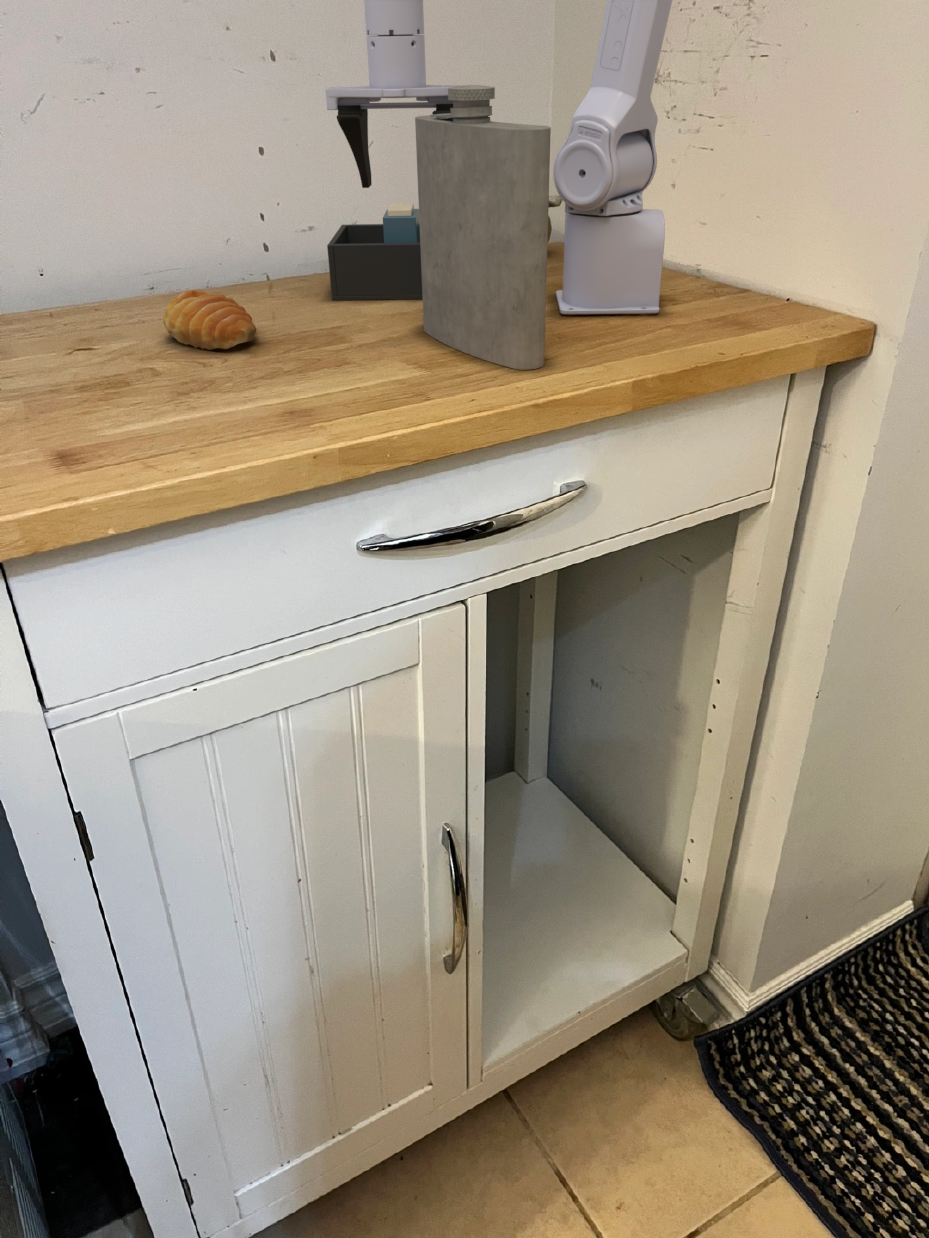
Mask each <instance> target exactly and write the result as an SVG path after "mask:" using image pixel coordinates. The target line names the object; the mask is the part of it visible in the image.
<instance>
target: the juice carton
mask: <svg viewBox="0 0 929 1238" xmlns="http://www.w3.org/2000/svg"><path fill="white" fill-rule="evenodd" d="M382 224H383V232H384V243H420V223H419V208H415V203H391V204H390V205H389V207H388V208H387V209H386V211H385V212H384V215H383V216H382Z"/></svg>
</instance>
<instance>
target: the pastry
mask: <svg viewBox="0 0 929 1238" xmlns="http://www.w3.org/2000/svg"><path fill="white" fill-rule="evenodd" d="M162 323H163V326H164V328H165V329H166V331H167V333H168V334H169V336H170V338H174V339H175V340H176V341H177V342H179V343H181V344H183V345H191V346H193V347H194V348H195V349H197V348H200V349H201V350H204V349H205V350H209V351H212V350H215V349H224V350H229V349H230V348H233V347H235V346H237V345H239V344H243V343H247V342H250V343H252V342H253V341H254V338H255V335H256V333H257V327H256V325H255V323H254V322H253V318H252V316H251V315H250V313H249V312H247V310H246V309H245V307H244V306H242V305H240V304H238V302H237V301H235V299H234V298H233V297H229V296H228V297H227V296H226V295H224V294H221V293H209V292H207V291H203V290H197V289H191V290H185V291H183V292H181V293H180V294H178V295H177V297H173V298H171V299H170V302H169V303H168V304H167V305H166V307H165V310H164V313H163V316H162Z"/></svg>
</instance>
